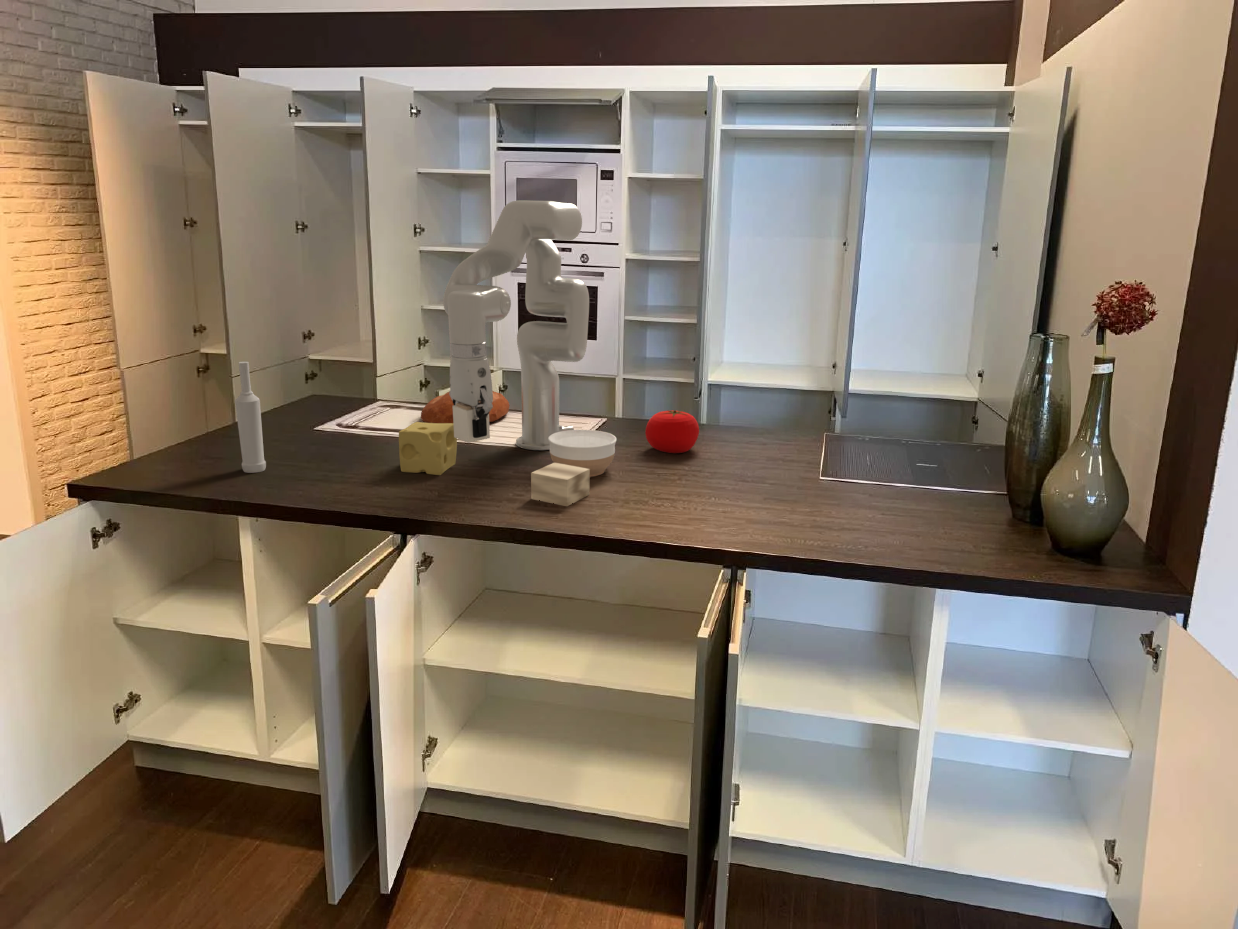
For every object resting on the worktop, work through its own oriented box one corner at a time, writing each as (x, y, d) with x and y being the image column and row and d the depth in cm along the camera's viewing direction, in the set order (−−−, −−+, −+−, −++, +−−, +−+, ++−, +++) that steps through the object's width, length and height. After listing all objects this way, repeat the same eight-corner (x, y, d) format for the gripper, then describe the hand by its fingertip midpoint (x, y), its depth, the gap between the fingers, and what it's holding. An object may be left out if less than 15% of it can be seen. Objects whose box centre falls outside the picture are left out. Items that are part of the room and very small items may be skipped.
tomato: (669, 460, 221) (671, 419, 218) (634, 449, 231) (635, 409, 228) (709, 451, 231) (711, 411, 228) (674, 440, 240) (675, 402, 237)
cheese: (441, 476, 206) (439, 433, 203) (397, 472, 208) (395, 430, 205) (458, 463, 216) (456, 422, 213) (416, 460, 218) (414, 419, 215)
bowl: (584, 456, 223) (584, 425, 221) (630, 471, 213) (631, 438, 210) (534, 469, 213) (533, 436, 210) (579, 485, 202) (579, 451, 199)
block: (554, 488, 200) (554, 462, 198) (589, 495, 195) (589, 469, 194) (531, 499, 192) (531, 472, 190) (567, 507, 188) (567, 479, 186)
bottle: (271, 468, 209) (261, 361, 202) (254, 474, 204) (243, 365, 197) (254, 465, 211) (244, 359, 204) (237, 471, 207) (225, 362, 199)
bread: (404, 428, 248) (402, 396, 245) (454, 403, 277) (453, 375, 275) (480, 435, 242) (479, 402, 240) (523, 409, 272) (523, 380, 269)
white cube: (475, 432, 198) (474, 398, 196) (489, 438, 195) (488, 403, 192) (454, 437, 195) (452, 403, 192) (468, 442, 191) (466, 408, 189)
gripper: (506, 354, 185) (509, 439, 191) (461, 342, 197) (464, 422, 203) (475, 359, 180) (479, 446, 186) (431, 346, 192) (435, 428, 198)
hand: (471, 432), depth 194 cm, fingers closed on white cube, 5 cm apart
